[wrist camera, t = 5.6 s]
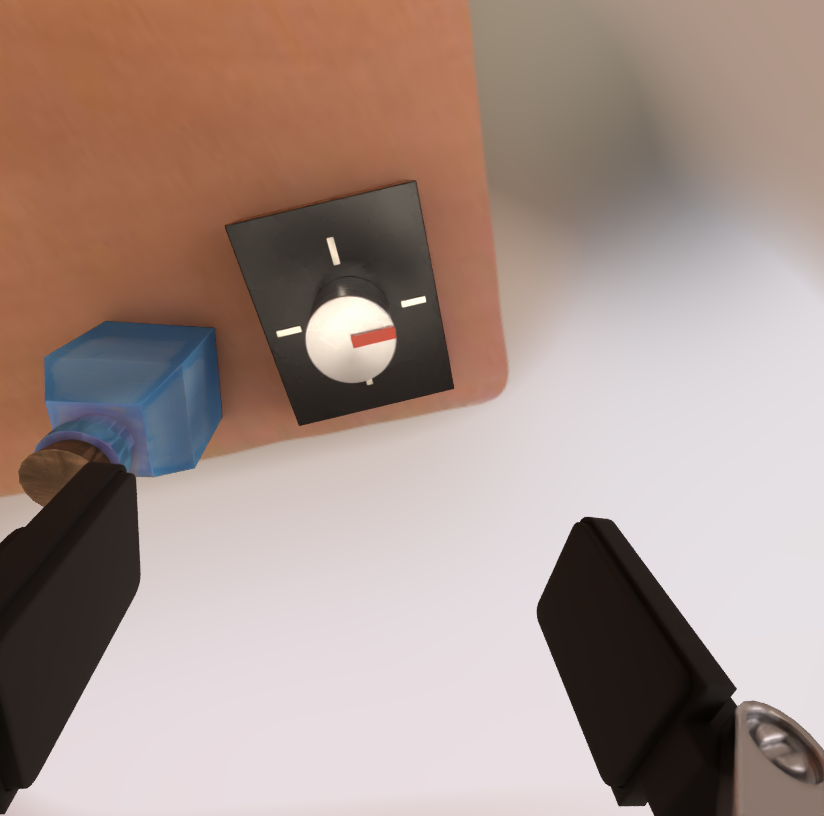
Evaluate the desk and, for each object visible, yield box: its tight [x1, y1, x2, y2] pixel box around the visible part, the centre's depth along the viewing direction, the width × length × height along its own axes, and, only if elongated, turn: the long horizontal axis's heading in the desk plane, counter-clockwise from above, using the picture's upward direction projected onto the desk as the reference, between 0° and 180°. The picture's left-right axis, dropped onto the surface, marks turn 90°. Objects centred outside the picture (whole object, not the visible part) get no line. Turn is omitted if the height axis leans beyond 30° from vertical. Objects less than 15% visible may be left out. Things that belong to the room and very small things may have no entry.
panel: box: [225, 180, 454, 426], centre depth 27 cm, size 10×12×3 cm
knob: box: [304, 277, 397, 383], centre depth 24 cm, size 4×4×5 cm
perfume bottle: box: [18, 321, 222, 507], centre depth 24 cm, size 6×6×12 cm
